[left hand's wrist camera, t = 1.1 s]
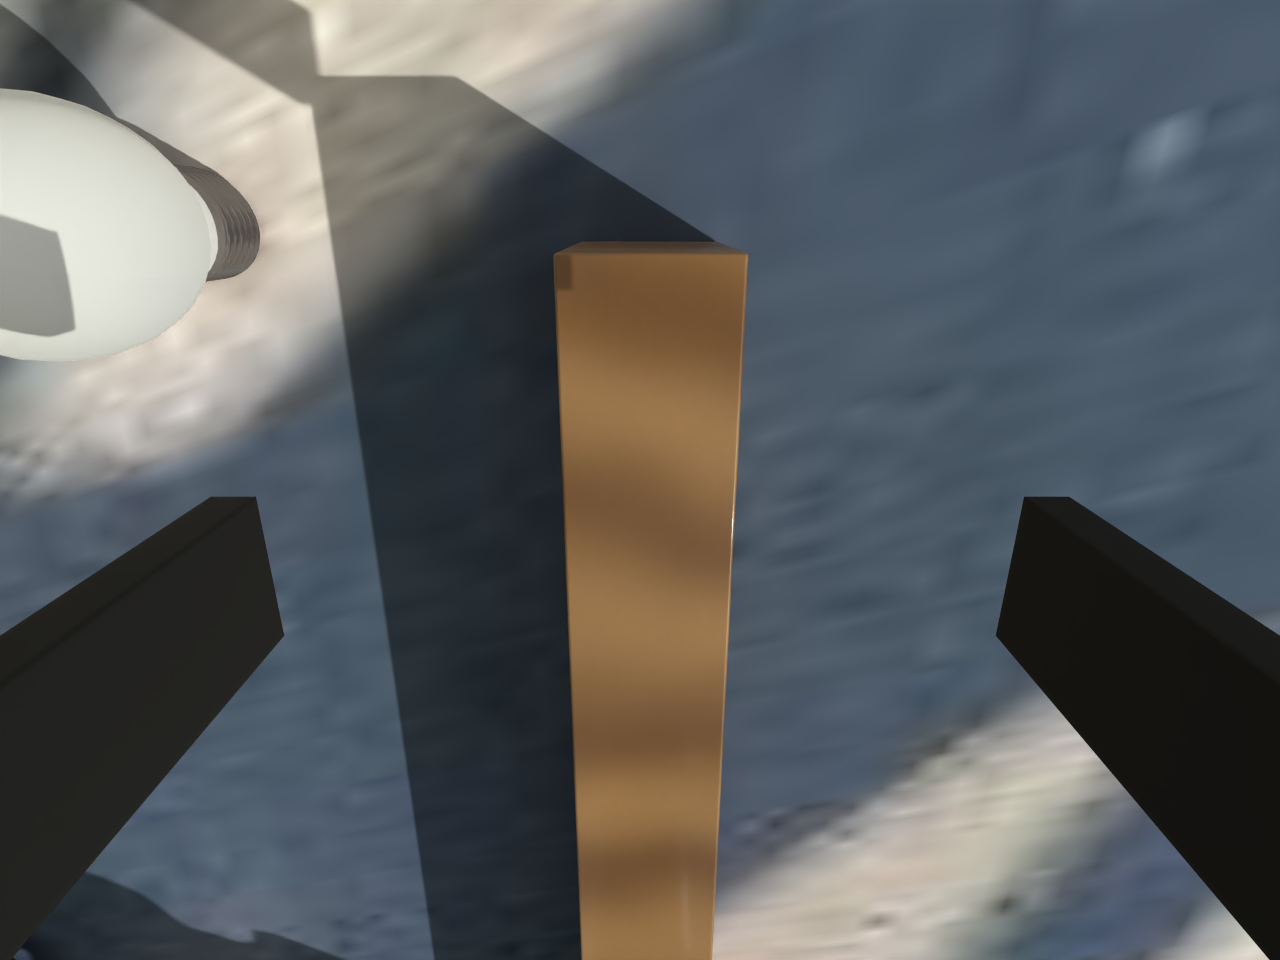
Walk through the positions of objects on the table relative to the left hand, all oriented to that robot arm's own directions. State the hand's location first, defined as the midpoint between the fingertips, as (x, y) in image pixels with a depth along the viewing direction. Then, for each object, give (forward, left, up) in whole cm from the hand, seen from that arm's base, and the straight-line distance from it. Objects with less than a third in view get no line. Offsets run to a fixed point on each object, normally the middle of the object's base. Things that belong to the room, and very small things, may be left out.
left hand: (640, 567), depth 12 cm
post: (+7, +22, -16) cm, 28 cm away
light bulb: (+13, -10, -16) cm, 23 cm away
